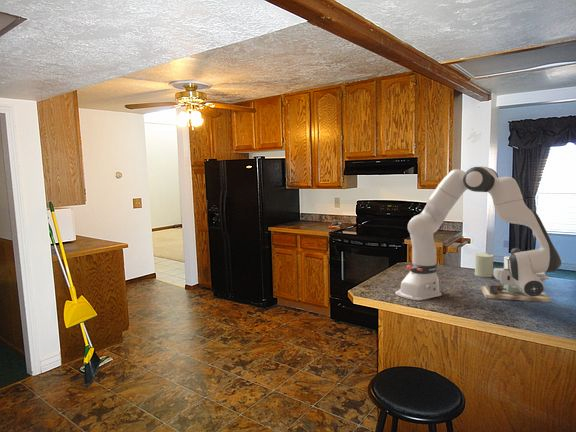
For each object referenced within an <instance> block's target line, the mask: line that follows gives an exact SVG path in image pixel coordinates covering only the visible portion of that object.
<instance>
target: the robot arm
mask: <svg viewBox="0 0 576 432" xmlns="http://www.w3.org/2000/svg"><path fill="white" fill-rule="evenodd" d="M467 190H468V191H471V192H476V193H488V194H489V195H490V196H491V200H492V203H493V206H494V207H493V208H494V210H495V214H496V215H497V217H498V219H500V220H502V221H503V222H506V223H509V224H512V225H513V224H515V225H521V226H526V227H528V228H530V230H532V232H533V234H534V237H535V239H536V241H537V243H538V245H539V248H536V249H530V250H523V251H522V250H521V252H517V253H513V254H511V253H510V257H509V259H508V268H506V269H504V267H503V268H502V267H501V268H500V267H498V268H497V267H493V277H494V278H495V279H496V280H497V281H499V282H500V283H499V284H501V285H504V284H505V285H511V286H514V287H518V289H519V290H520V291H521V292H522V293H524V294H525V295H527V296H531V297H534V296H538V295H540V294H541V293H542V292H544V289H545V285H544V283H543V282H545V281H547V280H550V277H549V276H547V275H546V273H555V272H556V271H557V270H558V269H559V268H560V267H561V265H562V258H561V256H560V254H559V252H558V251H557V249H556V248H555V245H554V244H553V242H552V240H551V237H550V236H549V234H548V232H547V229H546V227H545V226H544V224H543V222H542V220H541V218H540V216H539V215H538V213H537V212H536V210H532V209H530V208H529V207H528V206H527V205H526V203H525V201H524V197H523V195H522V192H521V189H520V187H519V184H518V182H517V180H516V179H515V178H513V177H511V176H501V177H499V175H498V173H497V172H496V170H494V169H493V168H490V167H487V166H473V167H470V168H469V169H468V170H466V171H464V170H462V169H457V168H454V169H452V170H450V171H449V172H448V173H447V174H446V175H445V176H444V177H443V179H441V181H440V182H439V183H438V185H437V186H436V187H435V189H434V190H433V192H432V193H431V195H430V196H429V198H428V199H427V202H426V205H425V206H424V208H423V209H422V211H421V212H420V213H419V214H417V215H414V216H413V217H411V219H410V220H409V221H408V223H407V231H408V233H409V236H410V243H411V247H412V249H411V253H412V256H411V258H412V260H411V261H412V262H411V263H410V265H409V264H407V265H406V270H409V272H408V273H407V274H406V276H405V277H404V278H403V279H402V280H401V283H400V288H399V289H398V290H396V291H395V295H396V296H397V297H398V296H399V297H401V298H403V299H408V300H412V301H423V300H429V299H432V298H435V297H436V298H437V297H441V296H442V292H440V282H439V281H440V280H439V277H438V274H437V270H438V265H437V246H436V244H435V239H434V237H435V236H434V234H435V233H436V232H437V231H439V228H440V227H441V225H442V224H443V223H444V221H445V220H446V217H447V216H448V214H449V213H450V211H451V210H452V209H453V207H454V206H455V205H456V204H457V202H458V200H459V199H460V198H461V196H462V195H463V194H464V193H465V192H466V191H467Z"/></svg>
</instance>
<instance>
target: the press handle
mask: <svg viewBox="0 0 576 432" xmlns="http://www.w3.org/2000/svg"><path fill="white" fill-rule="evenodd" d="M517 252H522V250H521V249H520V248H519V247H514V248H512V249H511V250H510V255H511V254H513V253H517ZM503 287H505V288H506V290H507V291H508V292H521V291H520V290H519V289H518V287H514V286H511V285H505V284H503Z"/></svg>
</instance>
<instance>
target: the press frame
mask: <svg viewBox="0 0 576 432" xmlns="http://www.w3.org/2000/svg"><path fill="white" fill-rule="evenodd" d="M480 291H481V292H482V294H483V295H484V297H485V298H486V299H494V300H509V301H510V300H512V301H529V302H541V303H542V302H543V303H551V298H550V297H549V296H548V295H547V294H546V293H545V292H544V291H543V292H542V293H541V294H540V295H538V296H534V297H531V296H527V295H525V294H524V293H522V292H508V291H507V290H506V288H505V287H504V284H501V283H496V282H495V281H494V280H493V279H485V285H481V286H480Z"/></svg>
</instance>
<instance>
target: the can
mask: <svg viewBox="0 0 576 432" xmlns="http://www.w3.org/2000/svg"><path fill="white" fill-rule="evenodd" d="M474 258H475V259H474V260H475V261H474V275H475V276H477V277H480V278H491V277H494V274H493V272H494V255H493V254H490V253H485V252H477V253H475V257H474Z"/></svg>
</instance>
